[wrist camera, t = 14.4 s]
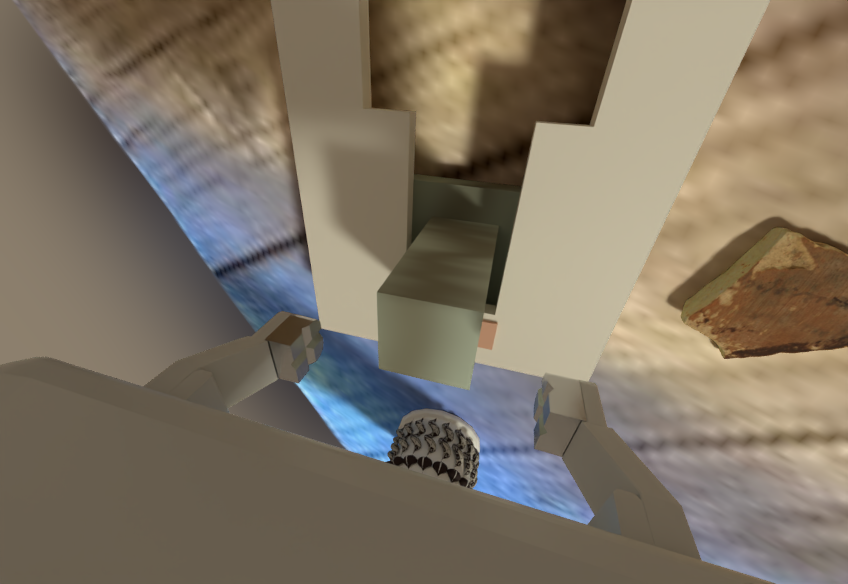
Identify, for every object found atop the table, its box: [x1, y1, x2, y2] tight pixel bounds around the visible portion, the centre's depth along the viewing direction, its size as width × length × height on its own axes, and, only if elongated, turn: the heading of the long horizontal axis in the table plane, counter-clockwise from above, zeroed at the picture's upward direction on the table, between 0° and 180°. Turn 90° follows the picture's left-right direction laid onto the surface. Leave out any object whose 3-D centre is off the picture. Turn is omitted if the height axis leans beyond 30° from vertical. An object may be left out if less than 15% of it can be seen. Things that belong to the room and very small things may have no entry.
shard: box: [681, 227, 848, 359], centre depth 18 cm, size 11×8×2 cm
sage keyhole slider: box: [377, 174, 522, 390], centre depth 17 cm, size 8×8×10 cm
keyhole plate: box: [271, 0, 770, 382], centre depth 16 cm, size 18×26×4 cm
